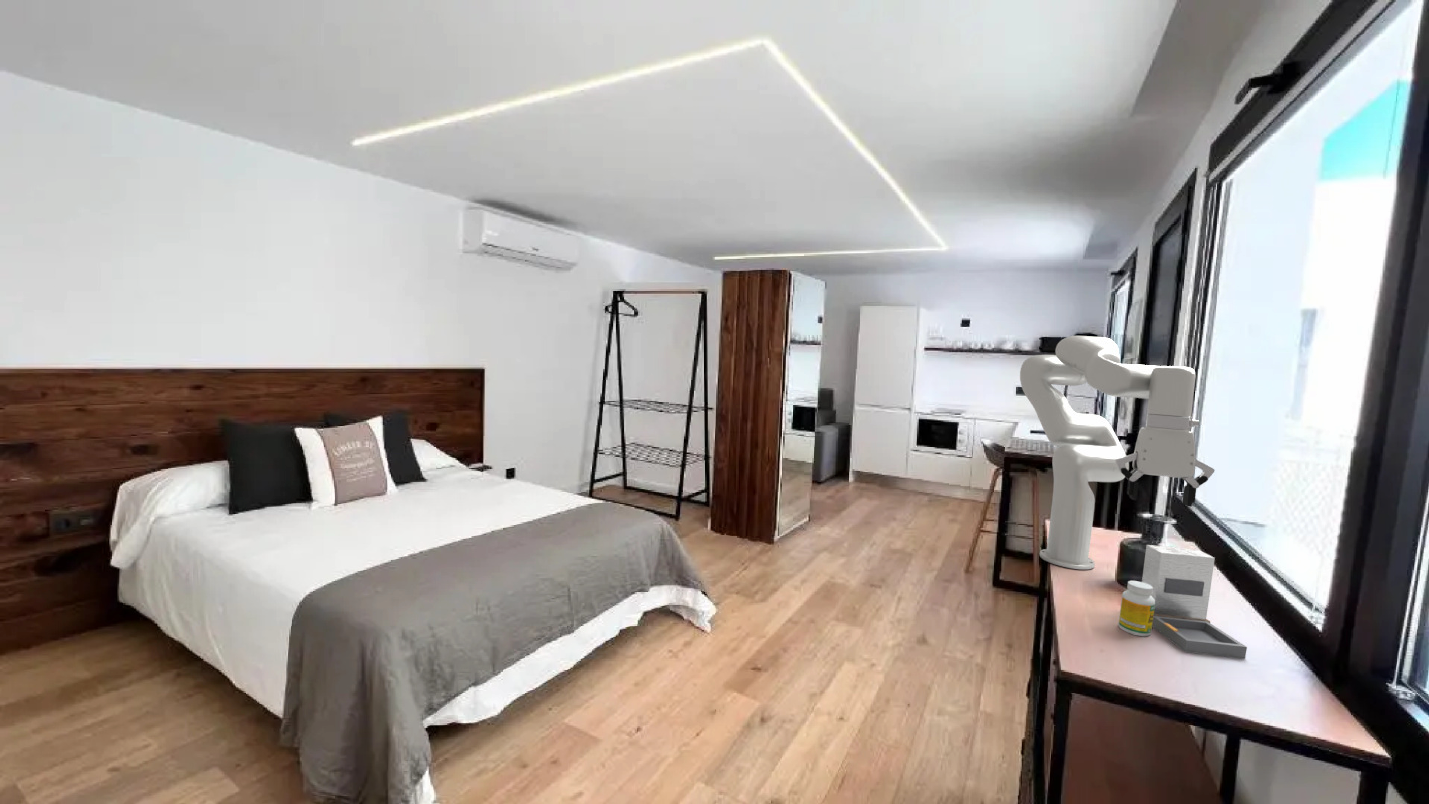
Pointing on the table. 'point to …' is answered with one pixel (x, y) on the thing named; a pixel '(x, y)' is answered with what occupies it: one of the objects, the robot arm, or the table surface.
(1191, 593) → the box
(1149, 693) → the table surface
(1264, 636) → the table surface
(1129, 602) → the supplement bottle
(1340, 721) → the table surface
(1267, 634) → the table surface
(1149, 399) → the robot arm
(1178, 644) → the tray
